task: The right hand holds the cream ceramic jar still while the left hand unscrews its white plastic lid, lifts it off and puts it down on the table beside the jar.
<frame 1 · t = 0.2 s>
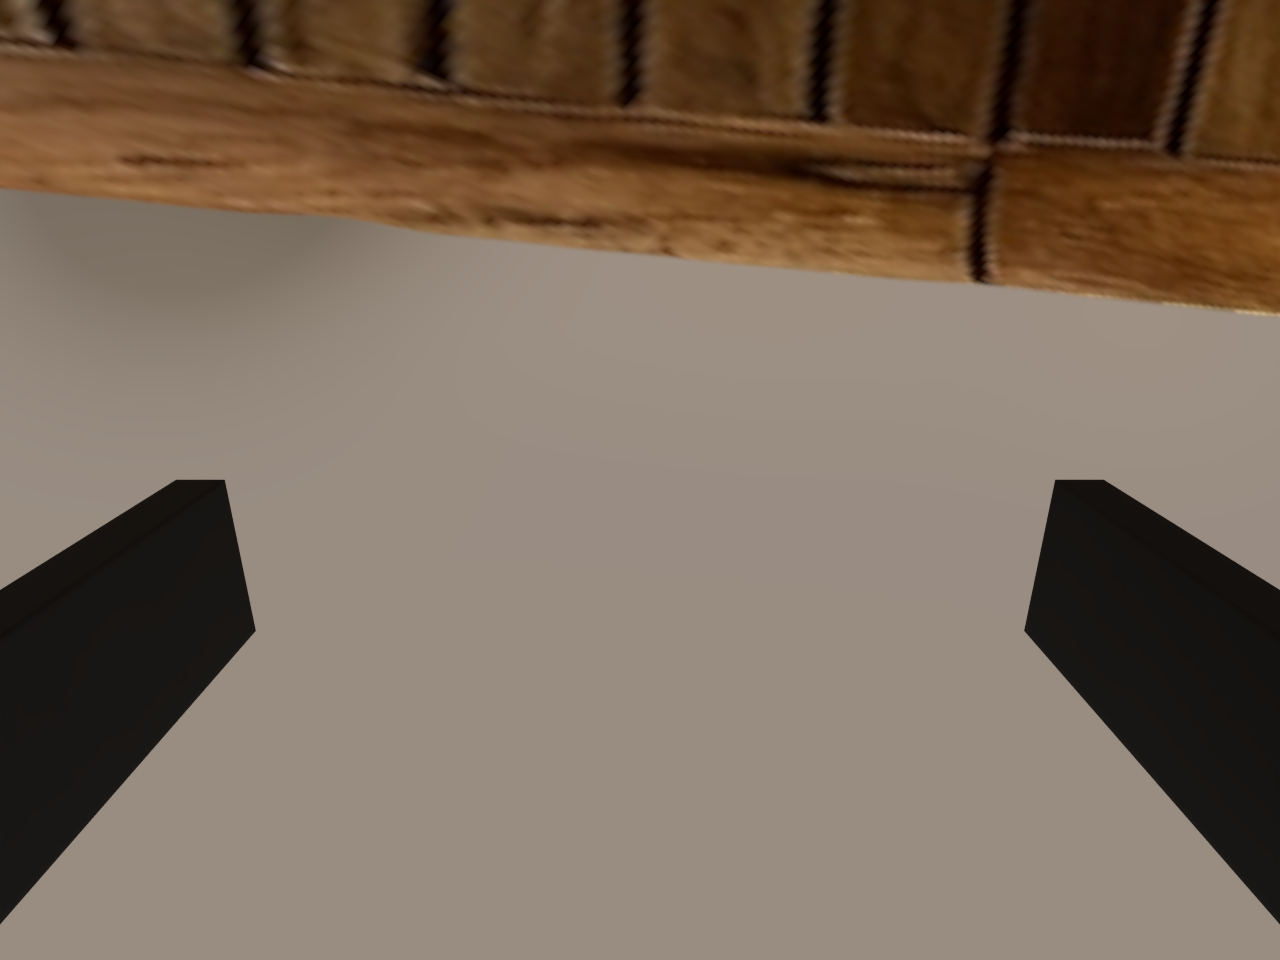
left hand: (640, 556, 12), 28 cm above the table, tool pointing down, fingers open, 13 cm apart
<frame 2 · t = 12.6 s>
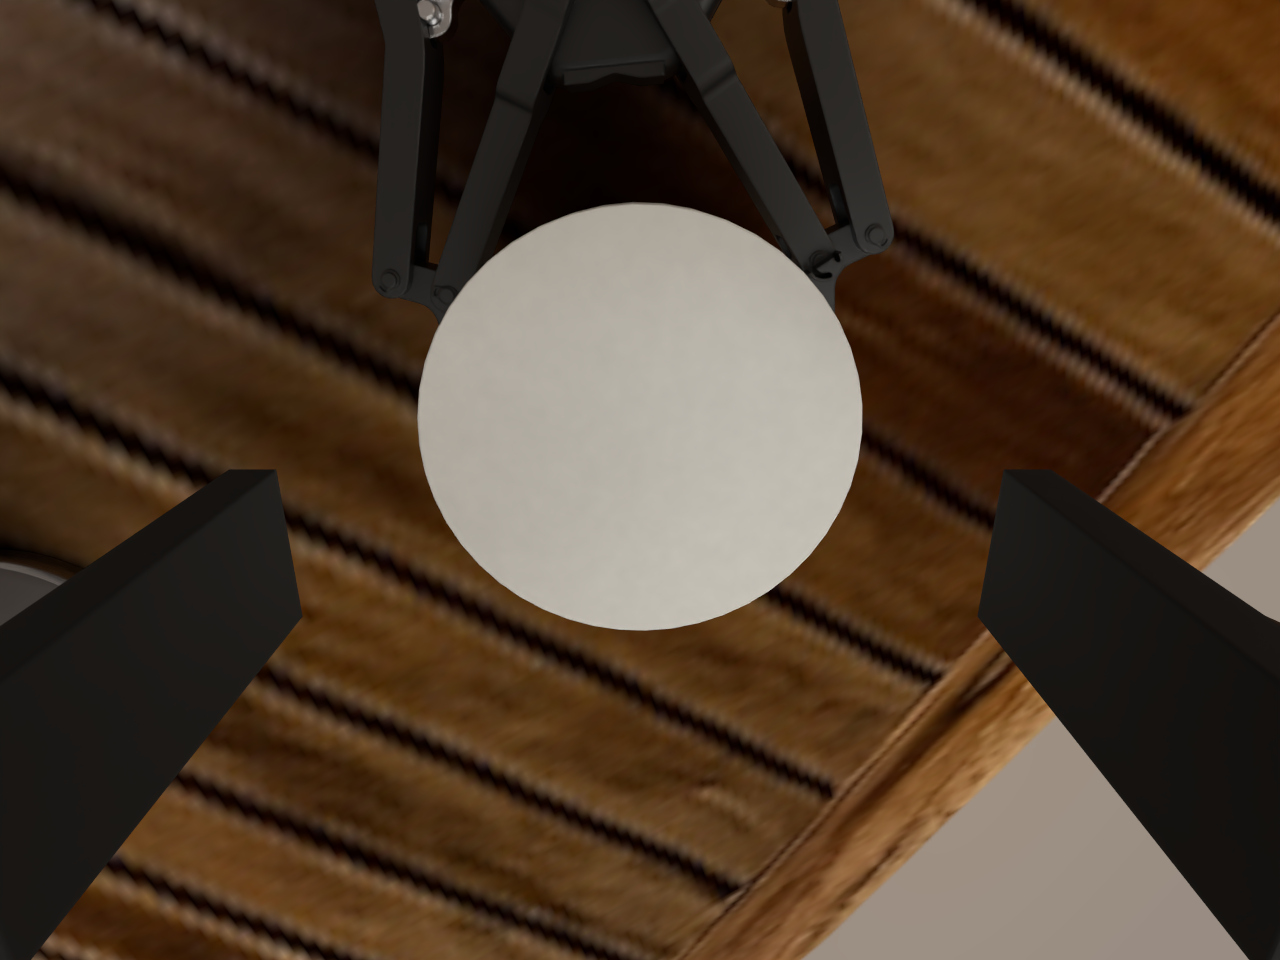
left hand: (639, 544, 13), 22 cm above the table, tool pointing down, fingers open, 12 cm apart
lid: (639, 434, 19), point 16 cm above the table, screwed on, not yet turned
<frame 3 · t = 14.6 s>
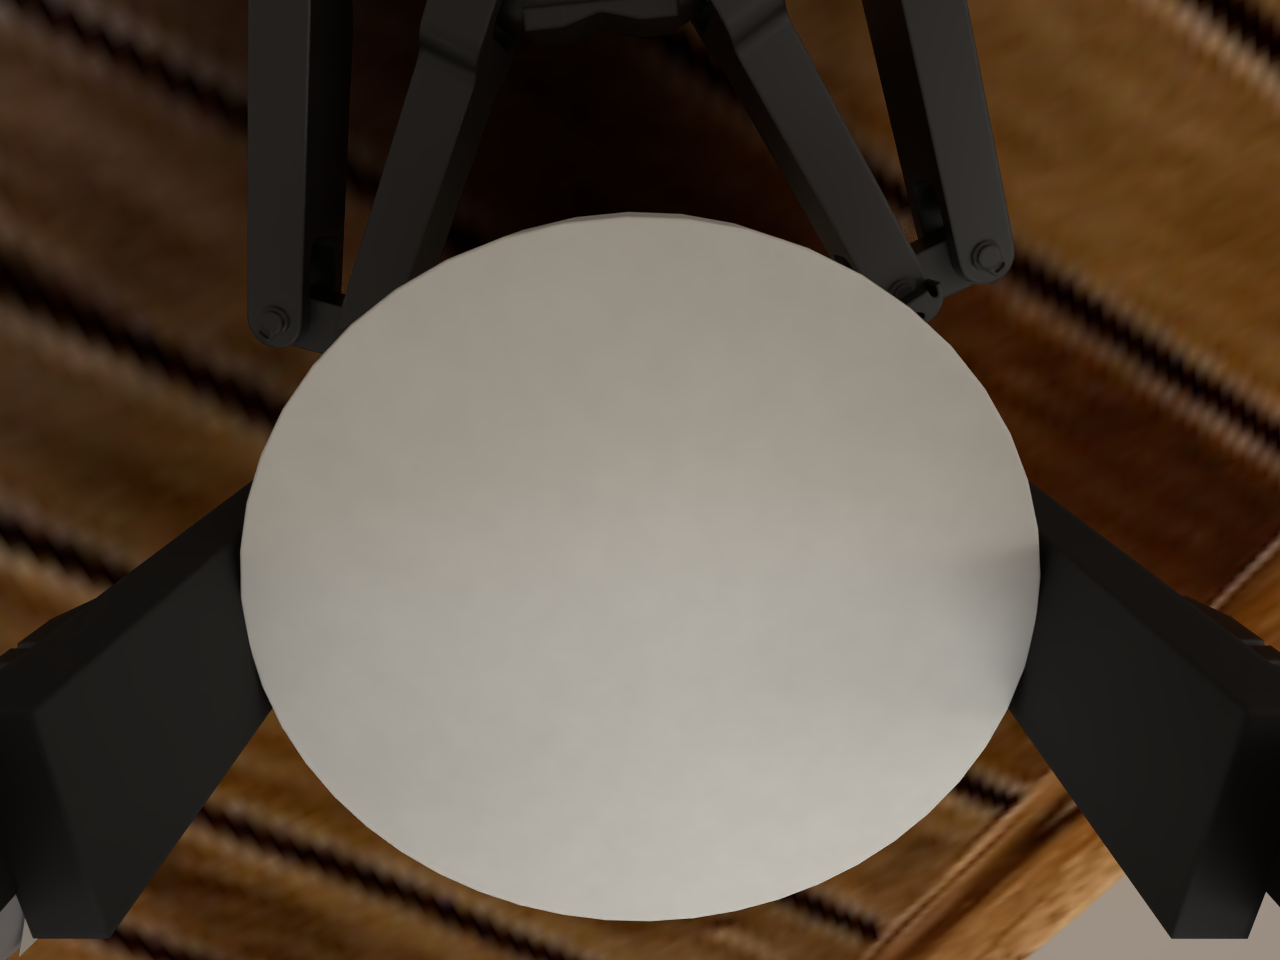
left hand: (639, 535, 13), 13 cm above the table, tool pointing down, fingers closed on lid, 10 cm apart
lid: (640, 619, 11), point 16 cm above the table, screwed on, not yet turned, touching left hand
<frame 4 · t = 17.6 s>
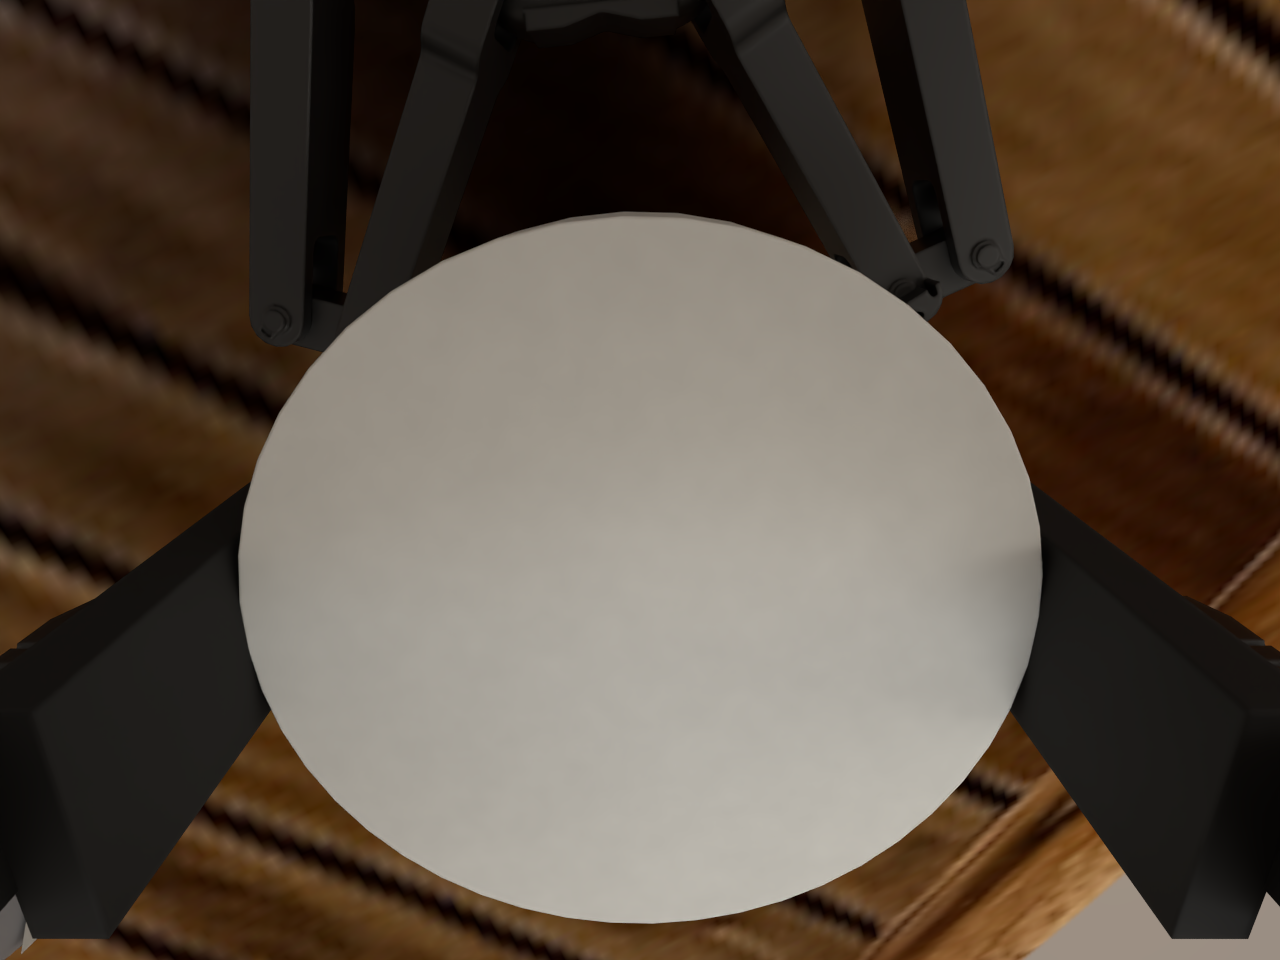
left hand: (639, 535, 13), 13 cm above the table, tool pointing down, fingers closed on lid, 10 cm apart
lid: (640, 621, 10), point 16 cm above the table, turned 83° so far, risen 0.1 cm, still on its thread, touching left hand
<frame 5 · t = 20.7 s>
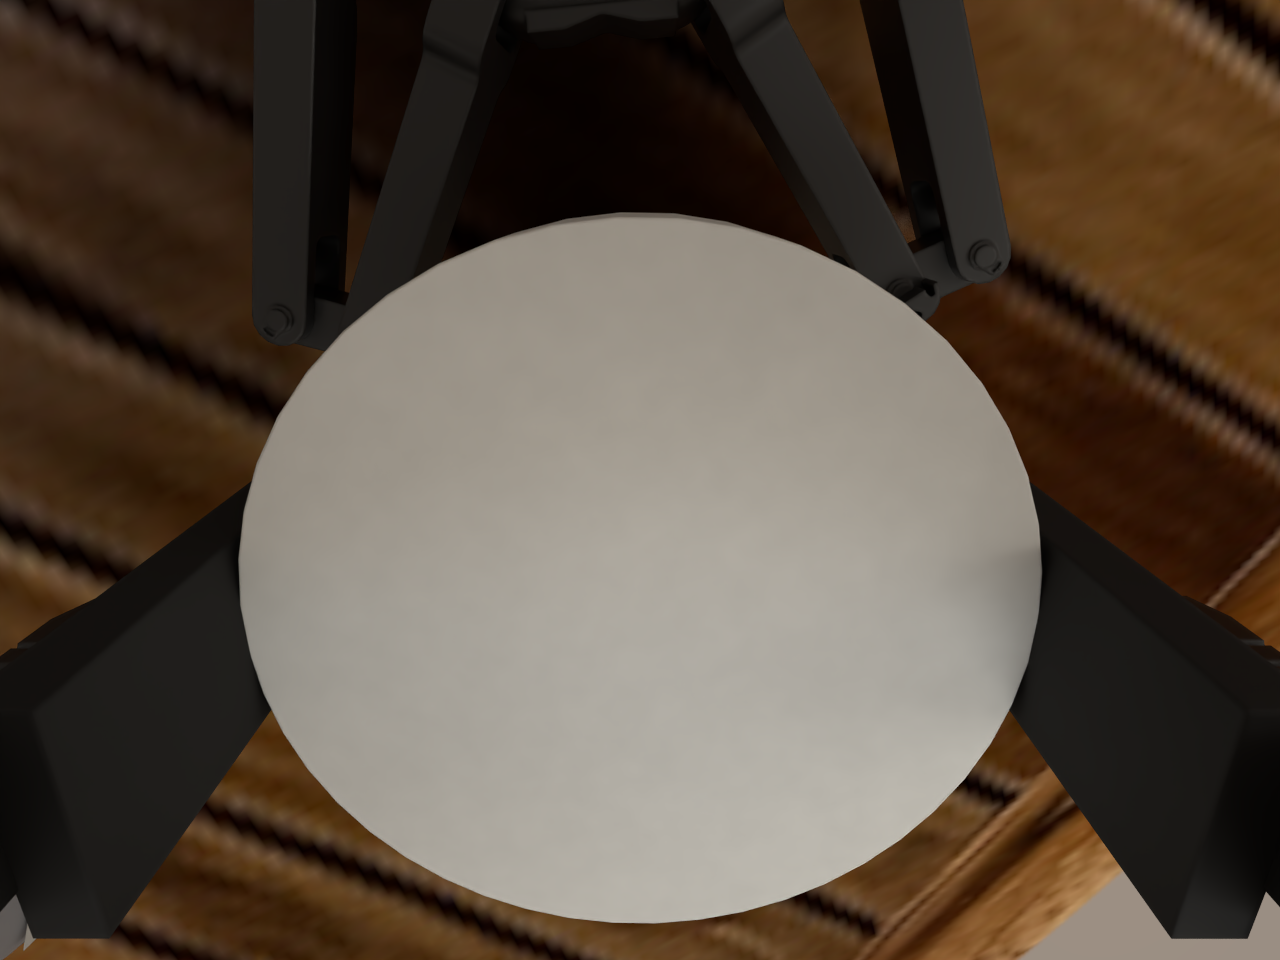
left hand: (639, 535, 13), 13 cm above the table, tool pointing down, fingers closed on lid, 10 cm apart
lid: (640, 621, 11), point 16 cm above the table, turned 166° so far, risen 0.2 cm, still on its thread, touching left hand
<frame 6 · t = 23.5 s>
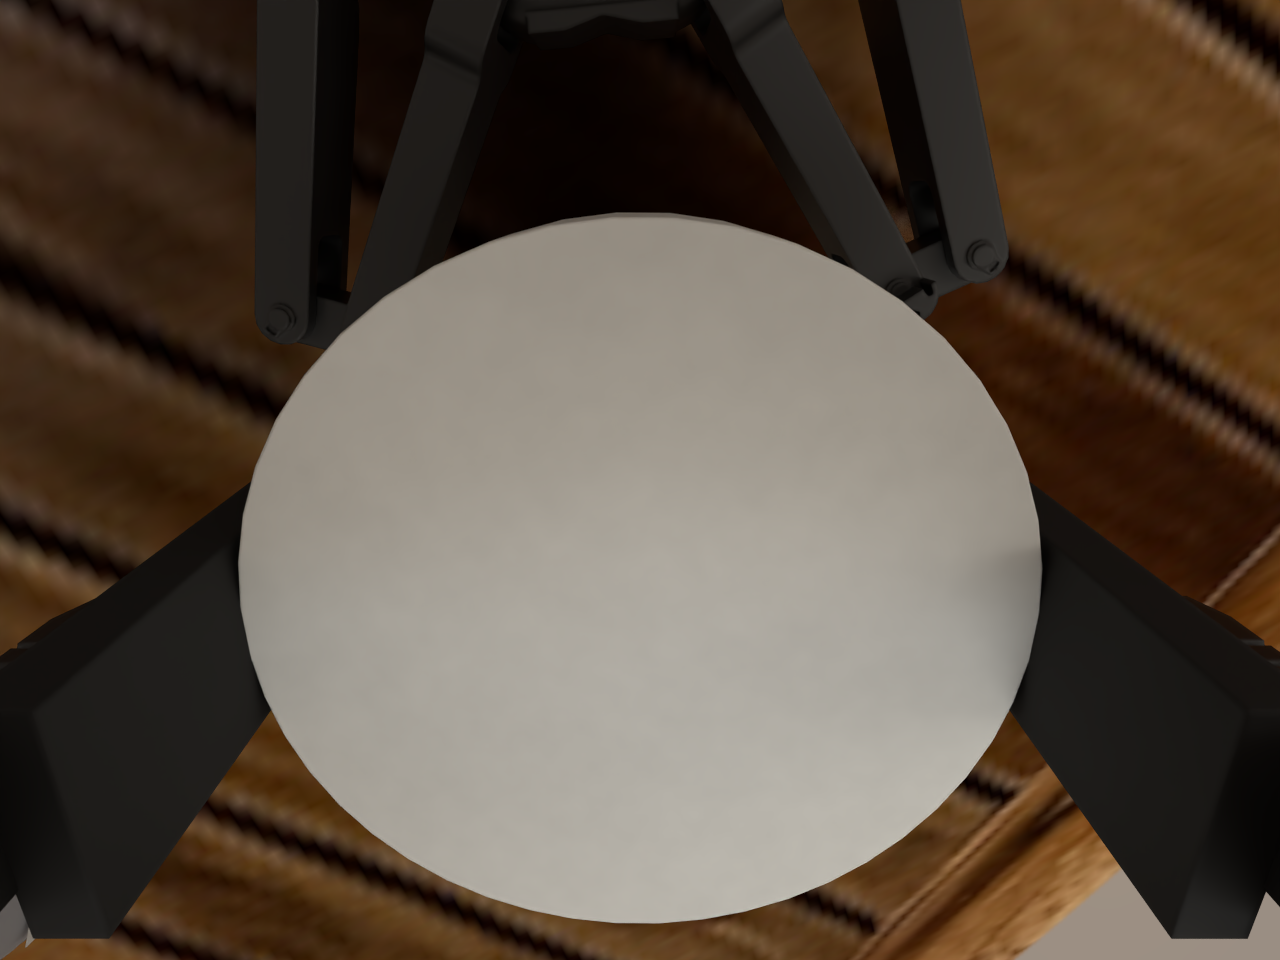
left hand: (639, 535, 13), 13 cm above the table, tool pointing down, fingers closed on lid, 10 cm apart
lid: (640, 621, 10), point 16 cm above the table, turned 249° so far, risen 0.4 cm, still on its thread, touching left hand
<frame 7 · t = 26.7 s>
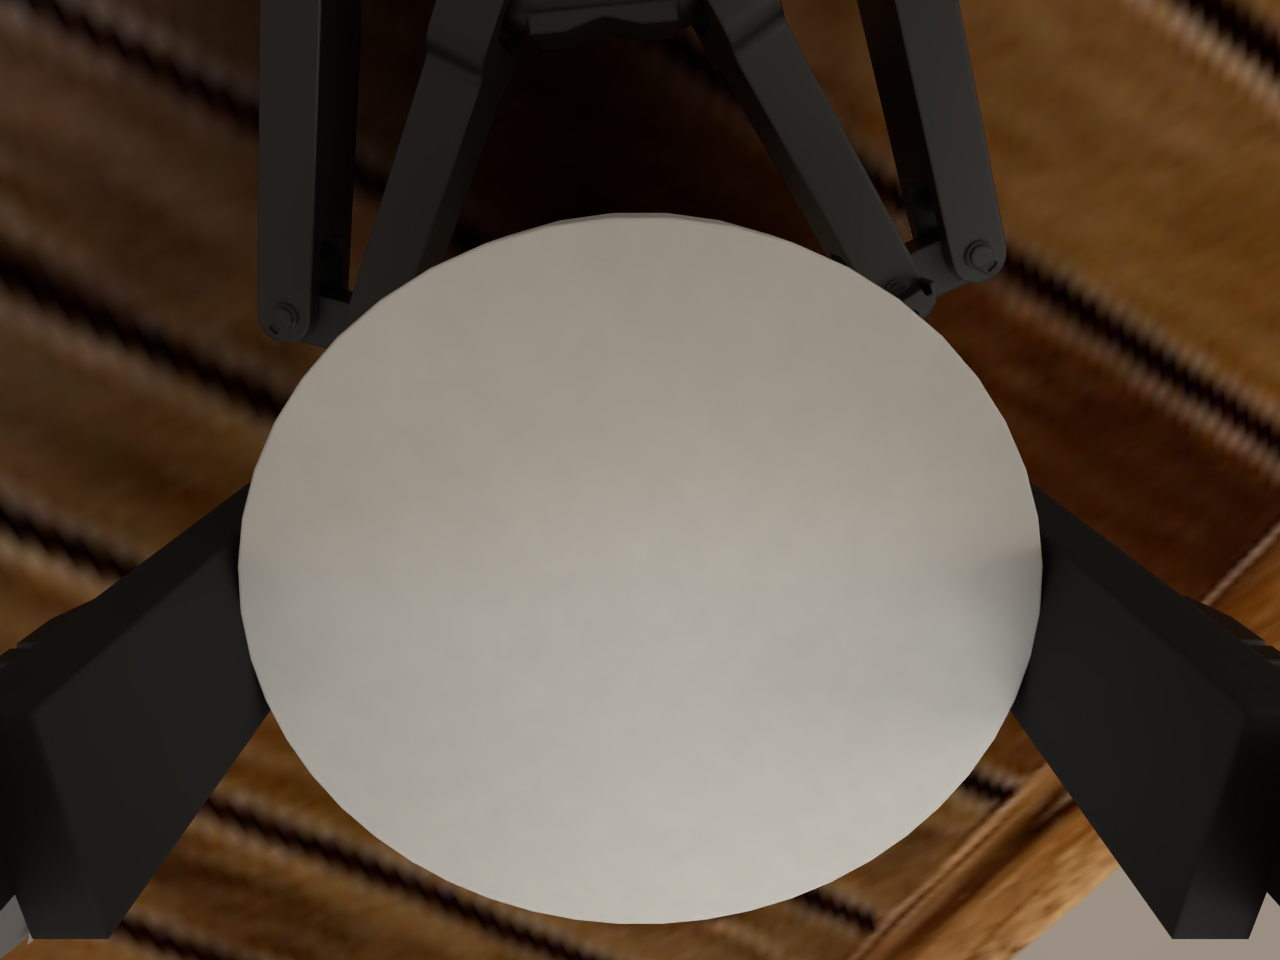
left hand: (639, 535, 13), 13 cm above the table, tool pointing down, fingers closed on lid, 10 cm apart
lid: (640, 622, 10), point 16 cm above the table, turned 332° so far, risen 0.5 cm, still on its thread, touching left hand
when the left hand's fingers open (0 cm above the table, at t = 36.0 s): lid drops 2 cm, point 1 cm above the table.
when the right hand's fingers open (6 cm above the table, at t = 37.1 s): jar stays where it is, on the table.
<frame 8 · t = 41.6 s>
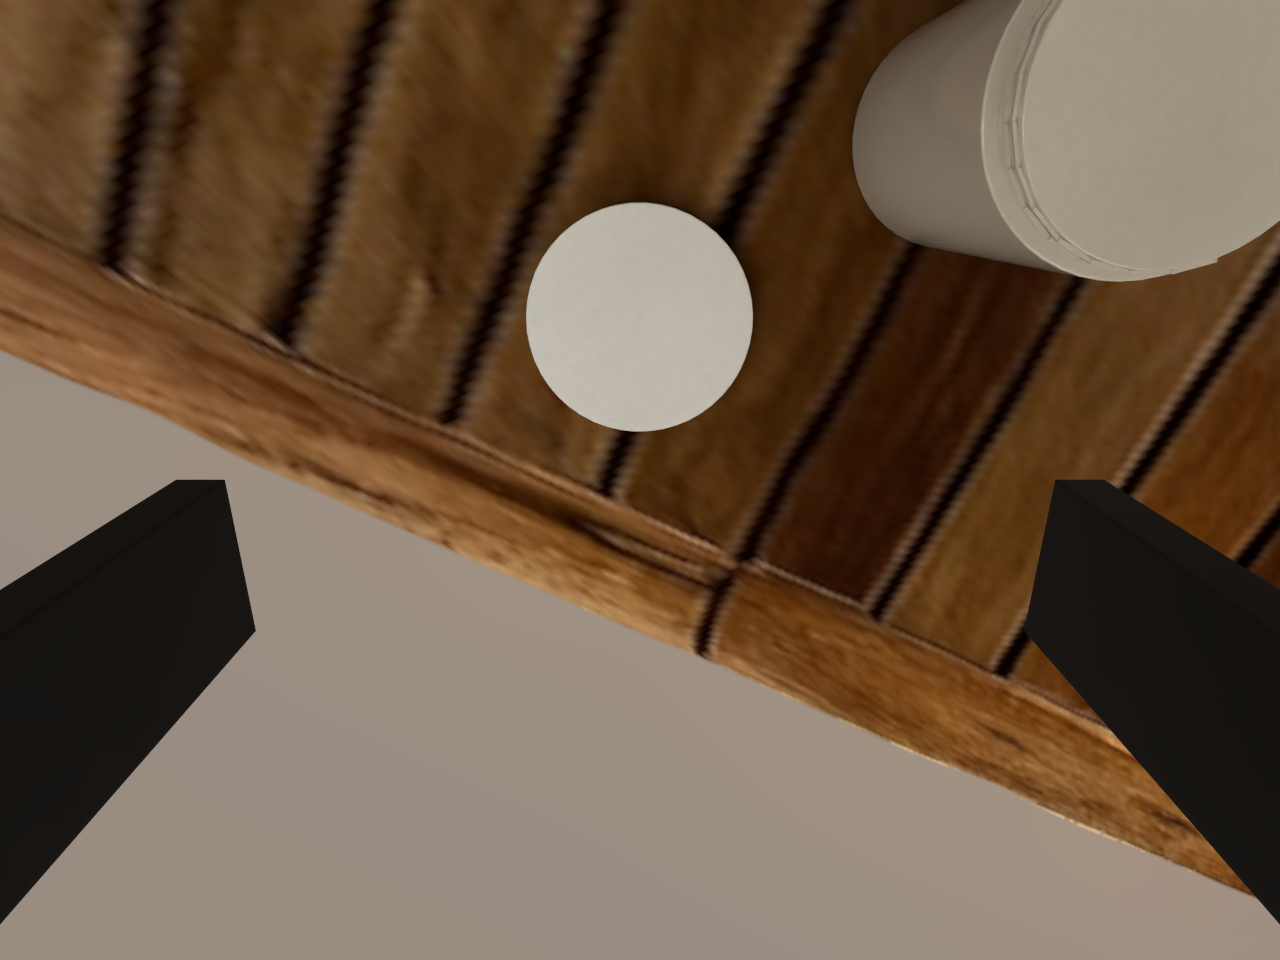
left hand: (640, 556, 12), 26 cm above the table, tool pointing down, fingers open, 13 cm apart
jar: (960, 135, 34), on the table
lid: (639, 321, 36), point 1 cm above the table, off its thread
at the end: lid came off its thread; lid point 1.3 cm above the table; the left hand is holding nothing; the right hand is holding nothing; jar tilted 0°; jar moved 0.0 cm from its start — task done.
